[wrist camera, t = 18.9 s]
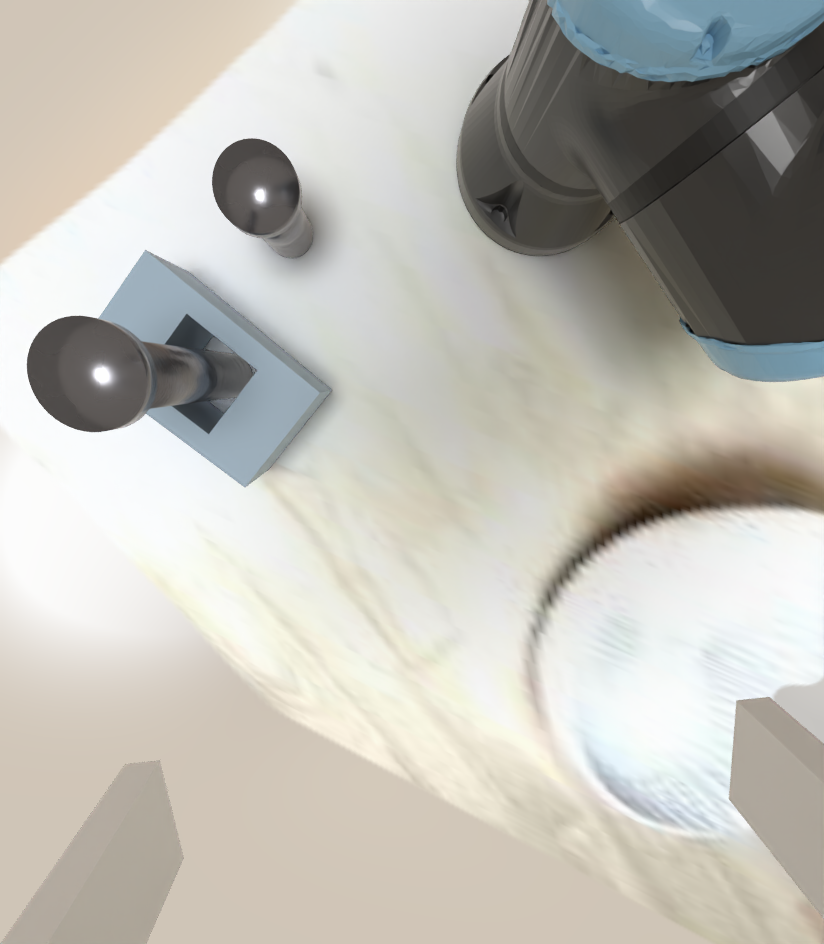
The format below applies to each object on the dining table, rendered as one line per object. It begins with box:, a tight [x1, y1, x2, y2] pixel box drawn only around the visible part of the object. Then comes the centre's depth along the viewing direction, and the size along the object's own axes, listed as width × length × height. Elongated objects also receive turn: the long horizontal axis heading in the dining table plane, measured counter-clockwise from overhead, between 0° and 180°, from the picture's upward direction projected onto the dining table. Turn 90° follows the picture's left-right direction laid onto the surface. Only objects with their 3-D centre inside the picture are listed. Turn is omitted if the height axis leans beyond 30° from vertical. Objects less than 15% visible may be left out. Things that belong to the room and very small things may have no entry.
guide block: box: [99, 250, 332, 487], centre depth 38 cm, size 16×10×7 cm, turn 50°
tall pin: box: [27, 316, 253, 432], centre depth 32 cm, size 6×6×20 cm
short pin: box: [212, 139, 313, 258], centre depth 34 cm, size 6×6×10 cm
